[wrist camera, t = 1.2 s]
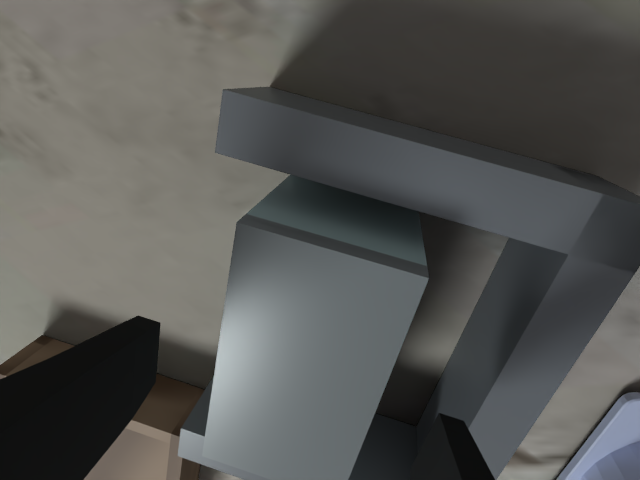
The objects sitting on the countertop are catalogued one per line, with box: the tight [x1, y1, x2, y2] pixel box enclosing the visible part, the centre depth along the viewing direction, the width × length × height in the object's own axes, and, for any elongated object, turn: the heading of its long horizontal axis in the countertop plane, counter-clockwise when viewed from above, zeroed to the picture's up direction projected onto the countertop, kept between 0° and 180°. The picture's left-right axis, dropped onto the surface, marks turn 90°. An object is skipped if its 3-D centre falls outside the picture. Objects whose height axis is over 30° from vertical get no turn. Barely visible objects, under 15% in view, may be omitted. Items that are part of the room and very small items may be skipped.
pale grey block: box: [202, 175, 429, 480], centre depth 12 cm, size 4×8×5 cm, turn 167°
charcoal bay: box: [178, 87, 640, 480], centre depth 13 cm, size 10×13×4 cm
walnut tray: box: [0, 335, 204, 480], centre depth 19 cm, size 9×12×2 cm
